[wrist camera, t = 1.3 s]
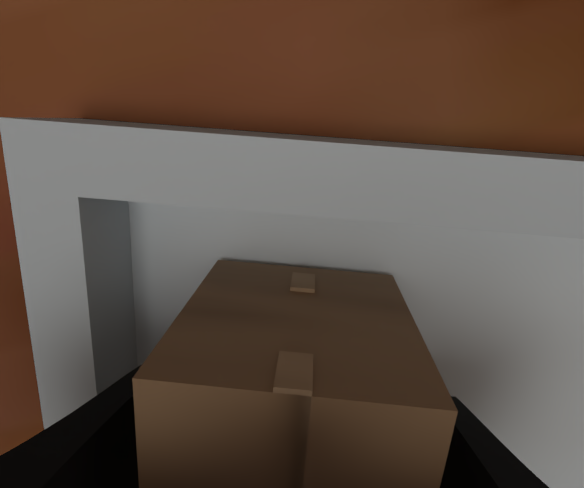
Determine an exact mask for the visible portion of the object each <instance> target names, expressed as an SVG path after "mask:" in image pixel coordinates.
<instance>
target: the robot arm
mask: <svg viewBox="0 0 584 488" xmlns="http://www.w3.org/2000/svg"><path fill="white" fill-rule="evenodd" d="M141 366H142V365H140V366H138V367H137V368H135V369H134V370H132V371H131V372H129V373H128V374H126V375H125V376H123V377H122V378H121V379H119V380H118V381H116V382H115V383H114V384H112V385H111V386H109V387H108V388H107V389H105V390H104V391H102V392H101V393H99V394H98V395H97V396H95V397H94V398H92V399H91V400H89V401H88V402H86V403H85V404H83V405H82V406H81V407H79V408H78V409H76V410H75V411H73V412H72V413H70V414H69V415H67V416H65V417H64V418H62V419H61V420H59V421H57V422H56V423H54V424H53V425H51V426H50V427H48V428H46V429H45V430H43V431H42V432H40V433H39V434H37V435H35V436H34V437H32V438H31V439H29V440H27V441H25V442H24V443H22V444H20V445H19V446H17V447H15V448H13V449H12V450H10V451H8V452H6V453H5V454H3V455H1V456H0V488H139V480H138V463H137V447H136V431H135V415H134V398H133V382H132V378H133V377H134V375H135V374H136V372H137V371H138V370H139V368H140V367H141ZM451 398H452V400H453V402H454V404H455V406H456V408H457V410H458V413H457V417H456V422H455V426H454V430H453V434H452V438H451V443H450V447H449V451H448V455H447V459H446V464H445V468H444V472H443V476H442V480H441V485H440V488H549V487H548V486H547V485H546V484H545V483H544V482H543V481H541V480H540V479H539V478H538V477H537V476H536V475H535V474H534V473H533V472H532V471H531V470H529V469H528V468H527V467H526V466H525V465H524V464H523V463H522V462H521V461H520V460H519V459H518V458H517V457H516V456H515V455H514V454H513V453H512V452H511V451H510V450H509V449H508V448H507V447H506V446H505V445H504V444H503V443H502V442H501V441H500V440H499V439H498V438H497V437H496V436H495V435H494V434H493V433H492V432H491V431H490V430H489V429H488V428H487V427H486V426H485V425H484V424H483V423H482V422H481V421H480V420H479V419H478V418H477V417H476V416H475V415H474V414H473V413H472V412H471V411H470V410H469V409H468V408H467V407H466V406H465V405H464V404H463V403H462V402H461V401H460V400H459V399H458V398H457V397H454V396H451Z"/></svg>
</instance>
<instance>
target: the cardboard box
mask: <svg viewBox="0 0 584 488" xmlns="http://www.w3.org/2000/svg"><path fill="white" fill-rule="evenodd" d="M132 382H133V398H134V415H135V431H136V447H137V463H138V480H139V488H440V485H441V480H442V476H443V472H444V468H445V464H446V459H447V455H448V451H449V447H450V443H451V438H452V434H453V430H454V426H455V422H456V417H457V413H458V410H457V408H456V406H455V404H454V402H453V400H452V398H451V396H450V394H449V392H448V389H447V387H446V385H445V383H444V381H443V379H442V377H441V375H440V373H439V371H438V369H437V367H436V365H435V362H434V360H433V358H432V356H431V354H430V352H429V350H428V348H427V346H426V344H425V342H424V340H423V337H422V335H421V333H420V331H419V329H418V327H417V325H416V323H415V321H414V319H413V317H412V315H411V313H410V310H409V308H408V306H407V304H406V302H405V300H404V298H403V296H402V294H401V292H400V290H399V288H398V285H397V283H396V281H395V279H394V277H393V275H385V274H374V273H362V272H351V271H340V270H328V269H317V268H306V267H294V266H283V265H272V264H260V263H249V262H238V261H226V260H218V261H217V262H216V263H215V265H214V266H213V267H212V269H211V270H210V272H209V273H208V274H207V276H206V277H205V278H204V280H203V281H202V283H201V284H200V285H199V287H198V288H197V290H196V291H195V292H194V294H193V295H192V296H191V298H190V299H189V301H188V302H187V303H186V305H185V306H184V307H183V309H182V310H181V312H180V313H179V314H178V316H177V317H176V319H175V320H174V321H173V323H172V324H171V325H170V327H169V328H168V330H167V331H166V332H165V334H164V335H163V337H162V338H161V339H160V341H159V342H158V343H157V345H156V346H155V348H154V349H153V350H152V352H151V353H150V354H149V356H148V357H147V359H146V360H145V361H144V363H143V364H142V366H141V367H140V368H139V370H138V371H137V372H136V374H135V375H134V377H133V378H132Z"/></svg>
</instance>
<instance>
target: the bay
mask: <svg viewBox="0 0 584 488" xmlns="http://www.w3.org/2000/svg"><path fill="white" fill-rule="evenodd" d="M0 132H1V138H2V145H3V152H4V159H5V166H6V172H7V179H8V186H9V193H10V200H11V206H12V213H13V220H14V227H15V234H16V240H17V247H18V254H19V261H20V268H21V274H22V281H23V288H24V295H25V302H26V308H27V315H28V322H29V329H30V336H31V342H32V349H33V356H34V363H35V370H36V376H37V383H38V390H39V397H40V404H41V410H42V417H43V424H44V430H45V429H46V428H48V427H50V426H51V425H53V424H54V423H56V422H57V421H59V420H61V419H62V418H64V417H65V416H67V415H69V414H70V413H72V412H73V411H75V410H76V409H78V408H79V407H81V406H82V405H83V404H85V403H86V402H88V401H89V400H91V399H92V398H94V397H95V396H97V395H98V394H99V393H101V392H102V391H104V390H105V389H107V388H108V387H109V386H111V385H112V384H114V383H115V382H116V381H118V380H119V379H121V378H122V377H123V376H125V375H126V374H128V373H129V372H131V371H132V370H134V369H135V368H137V367H138V366H140V365H142V364H143V363H144V361H145V360H146V359H147V357H148V356H149V354H150V353H151V352H152V350H153V349H154V348H155V346H156V345H157V343H158V342H159V341H160V339H161V338H162V337H163V335H164V334H165V332H166V331H167V330H168V328H169V327H170V325H171V324H172V323H173V321H174V320H175V319H176V317H177V316H178V314H179V313H180V312H181V310H182V309H183V307H184V306H185V305H186V303H187V302H188V301H189V299H190V298H191V296H192V295H193V294H194V292H195V291H196V290H197V288H198V287H199V285H200V284H201V283H202V281H203V280H204V278H205V277H206V276H207V274H208V273H209V272H210V270H211V269H212V267H213V266H214V265H215V263H216V262H217V261H218V260H226V261H238V262H249V263H260V264H272V265H283V266H294V267H306V268H317V269H328V270H340V271H351V272H362V273H374V274H385V275H393V277H394V279H395V281H396V283H397V285H398V288H399V290H400V292H401V294H402V296H403V298H404V300H405V302H406V304H407V306H408V308H409V310H410V313H411V315H412V317H413V319H414V321H415V323H416V325H417V327H418V329H419V331H420V333H421V335H422V337H423V340H424V342H425V344H426V346H427V348H428V350H429V352H430V354H431V356H432V358H433V360H434V362H435V365H436V367H437V369H438V371H439V373H440V375H441V377H442V379H443V381H444V383H445V385H446V387H447V389H448V392H449V394H450V396H454V397H457V398H458V399H459V400H460V401H461V402H462V403H463V404H464V405H465V406H466V407H467V408H468V409H469V410H470V411H471V412H472V413H473V414H474V415H475V416H476V417H477V418H478V419H479V420H480V421H481V422H482V423H483V424H484V425H485V426H486V427H487V428H488V429H489V430H490V431H491V432H492V433H493V434H494V435H495V436H496V437H497V438H498V439H499V440H500V441H501V442H502V443H503V444H504V445H505V446H506V447H507V448H508V449H509V450H510V451H511V452H512V453H513V454H514V455H515V456H516V457H517V458H518V459H519V460H520V461H521V462H522V463H523V464H524V465H525V466H526V467H527V468H528V469H529V470H531V471H532V472H533V473H534V474H535V475H536V476H537V477H538V478H539V479H540V480H541V481H543V482H544V483H545V484H546V485H547V486H548V487H549V488H584V156H576V155H563V154H549V153H536V152H523V151H509V150H496V149H483V148H469V147H456V146H443V145H429V144H416V143H402V142H389V141H376V140H362V139H349V138H336V137H322V136H309V135H296V134H282V133H269V132H256V131H242V130H229V129H215V128H202V127H189V126H175V125H162V124H149V123H135V122H122V121H109V120H95V119H82V118H9V117H0Z"/></svg>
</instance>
